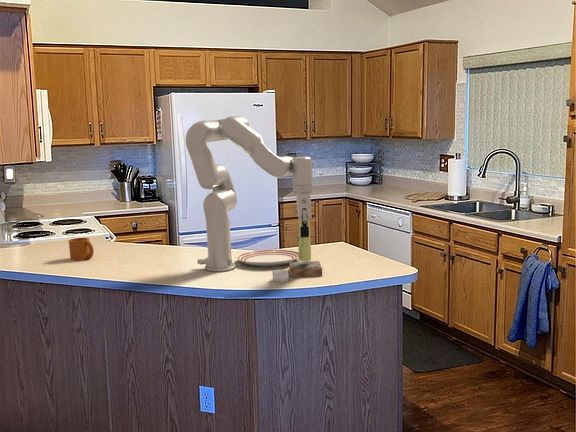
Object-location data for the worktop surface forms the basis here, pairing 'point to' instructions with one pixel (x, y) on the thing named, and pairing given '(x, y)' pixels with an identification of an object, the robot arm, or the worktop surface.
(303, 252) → the tube
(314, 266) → the stand
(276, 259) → the dinner plate
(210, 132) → the robot arm
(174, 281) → the worktop surface
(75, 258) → the mug
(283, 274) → the white dome
